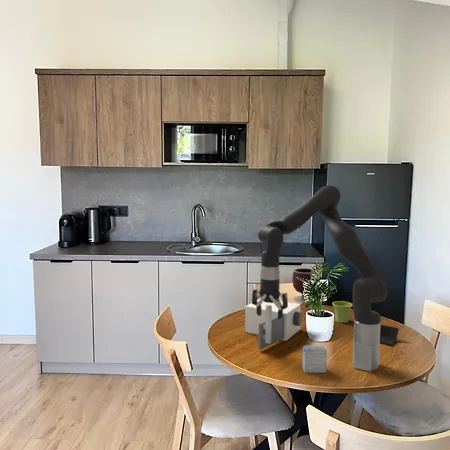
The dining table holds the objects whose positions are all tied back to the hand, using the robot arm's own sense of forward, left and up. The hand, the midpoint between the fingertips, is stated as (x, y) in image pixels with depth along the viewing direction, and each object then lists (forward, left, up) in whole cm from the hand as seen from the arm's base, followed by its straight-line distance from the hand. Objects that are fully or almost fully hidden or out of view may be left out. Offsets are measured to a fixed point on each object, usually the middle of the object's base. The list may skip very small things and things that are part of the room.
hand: (269, 316), depth 172 cm
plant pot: (+53, -14, -15) cm, 57 cm away
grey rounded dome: (+48, +24, -15) cm, 56 cm away
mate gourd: (+78, +14, -15) cm, 81 cm away
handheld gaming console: (+38, -36, -15) cm, 54 cm away
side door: (+6, 0, -14) cm, 15 cm away
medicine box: (-6, -21, -15) cm, 26 cm away
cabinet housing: (+23, +9, -15) cm, 29 cm away
